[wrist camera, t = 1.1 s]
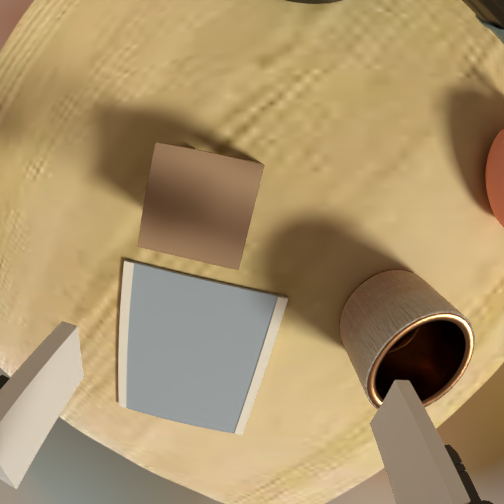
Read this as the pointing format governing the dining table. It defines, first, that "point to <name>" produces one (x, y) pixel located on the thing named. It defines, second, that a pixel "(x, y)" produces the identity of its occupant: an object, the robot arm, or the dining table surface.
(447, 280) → the dining table surface
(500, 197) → the sugar bowl
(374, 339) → the planter
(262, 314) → the rug
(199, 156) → the stool
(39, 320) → the dining table surface
